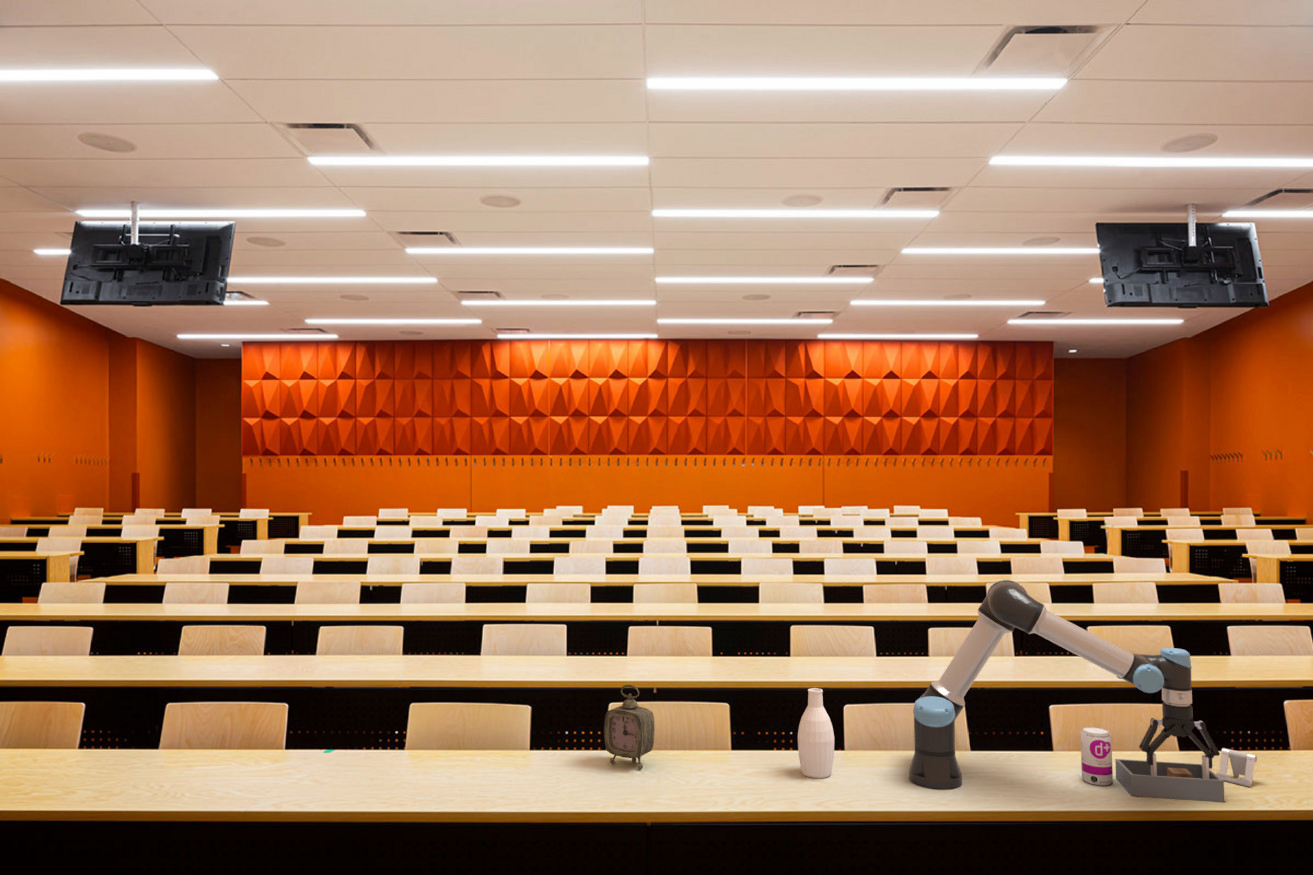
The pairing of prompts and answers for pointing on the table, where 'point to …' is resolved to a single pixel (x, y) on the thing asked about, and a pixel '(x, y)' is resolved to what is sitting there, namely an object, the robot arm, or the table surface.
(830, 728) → the bottle
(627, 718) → the tabletop clock
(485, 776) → the table surface
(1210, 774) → the tote
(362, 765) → the table surface
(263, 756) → the table surface
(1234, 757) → the portable electronic device stand
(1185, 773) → the walnut cube
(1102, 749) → the supplement can
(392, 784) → the table surface
